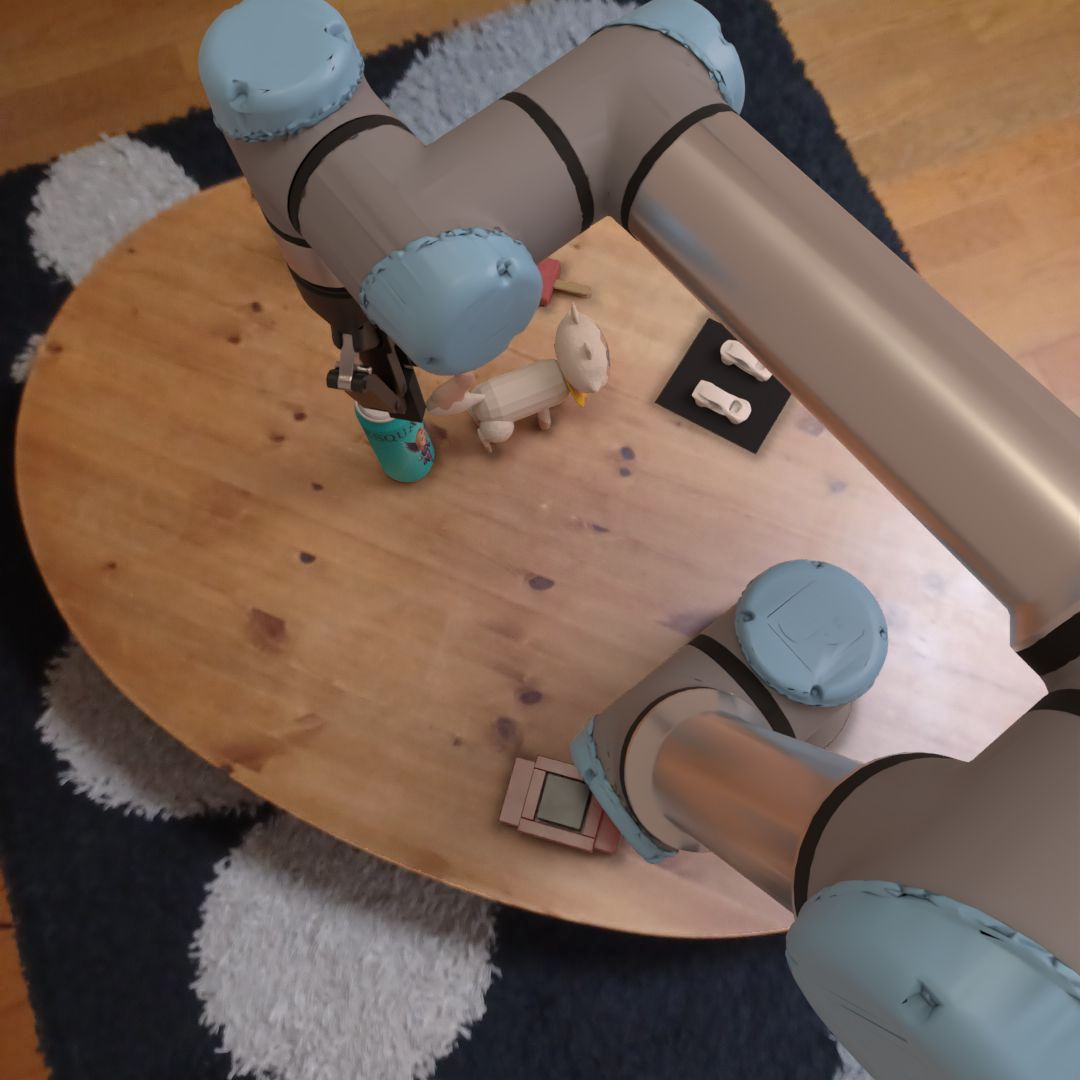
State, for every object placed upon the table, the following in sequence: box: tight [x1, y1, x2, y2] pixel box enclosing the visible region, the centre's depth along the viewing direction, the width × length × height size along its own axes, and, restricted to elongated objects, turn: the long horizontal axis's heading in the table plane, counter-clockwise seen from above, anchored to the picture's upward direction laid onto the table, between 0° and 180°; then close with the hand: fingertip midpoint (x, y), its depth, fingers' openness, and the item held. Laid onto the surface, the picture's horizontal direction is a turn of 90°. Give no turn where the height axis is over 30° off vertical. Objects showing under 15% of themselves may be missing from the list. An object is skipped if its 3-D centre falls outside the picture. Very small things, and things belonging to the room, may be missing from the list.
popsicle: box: [536, 257, 592, 307], centre depth 113 cm, size 5×2×15 cm
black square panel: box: [536, 773, 591, 831], centre depth 90 cm, size 4×4×2 cm
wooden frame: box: [497, 754, 622, 856], centre depth 92 cm, size 11×7×4 cm, turn 75°
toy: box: [425, 301, 611, 454], centre depth 101 cm, size 9×19×15 cm, turn 112°
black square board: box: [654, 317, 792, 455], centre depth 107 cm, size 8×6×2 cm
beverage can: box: [353, 399, 436, 483], centre depth 100 cm, size 6×6×15 cm
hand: (408, 412), depth 83 cm, fingers closed
